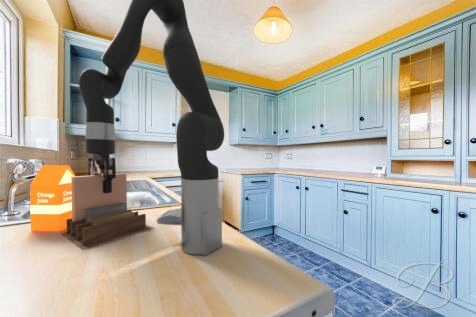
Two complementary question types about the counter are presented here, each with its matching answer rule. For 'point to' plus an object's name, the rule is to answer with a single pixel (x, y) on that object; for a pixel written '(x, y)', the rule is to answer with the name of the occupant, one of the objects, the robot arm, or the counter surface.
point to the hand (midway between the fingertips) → (101, 191)
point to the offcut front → (111, 218)
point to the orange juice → (51, 198)
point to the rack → (104, 230)
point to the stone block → (170, 217)
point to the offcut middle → (104, 211)
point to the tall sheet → (95, 193)
